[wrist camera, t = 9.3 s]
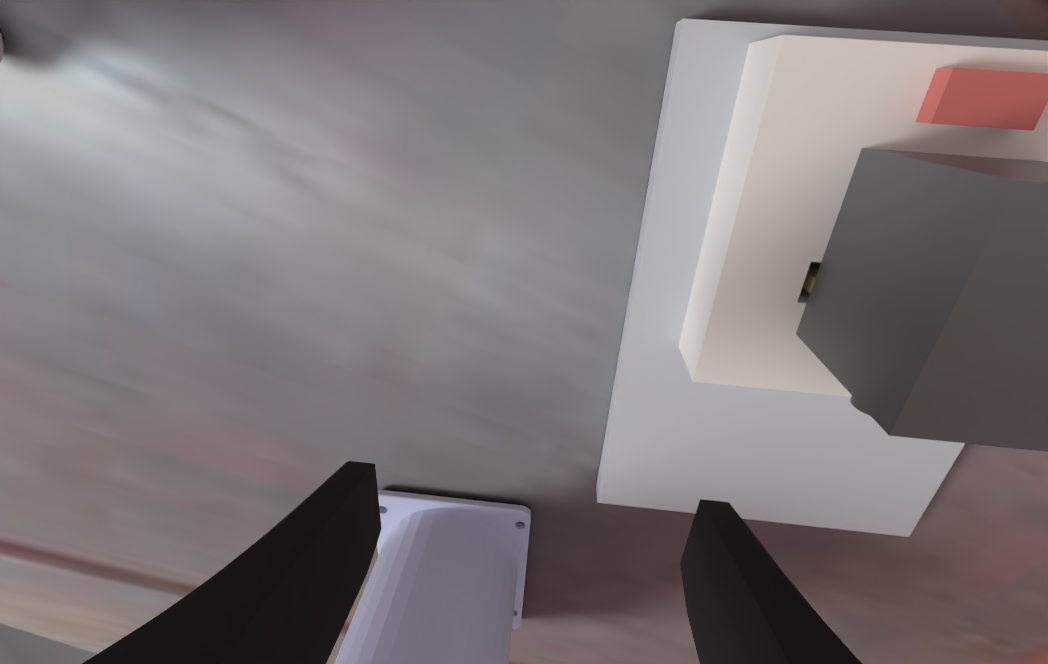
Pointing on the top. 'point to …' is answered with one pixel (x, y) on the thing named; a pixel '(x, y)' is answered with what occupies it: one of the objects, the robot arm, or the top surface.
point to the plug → (939, 297)
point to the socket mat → (725, 410)
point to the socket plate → (831, 178)
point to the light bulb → (1, 45)
